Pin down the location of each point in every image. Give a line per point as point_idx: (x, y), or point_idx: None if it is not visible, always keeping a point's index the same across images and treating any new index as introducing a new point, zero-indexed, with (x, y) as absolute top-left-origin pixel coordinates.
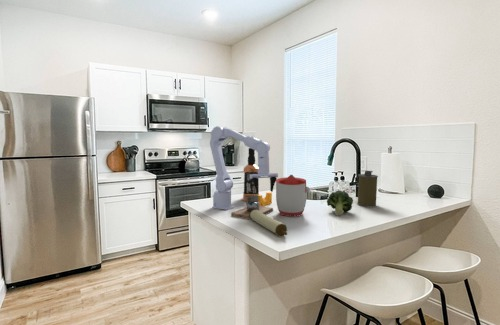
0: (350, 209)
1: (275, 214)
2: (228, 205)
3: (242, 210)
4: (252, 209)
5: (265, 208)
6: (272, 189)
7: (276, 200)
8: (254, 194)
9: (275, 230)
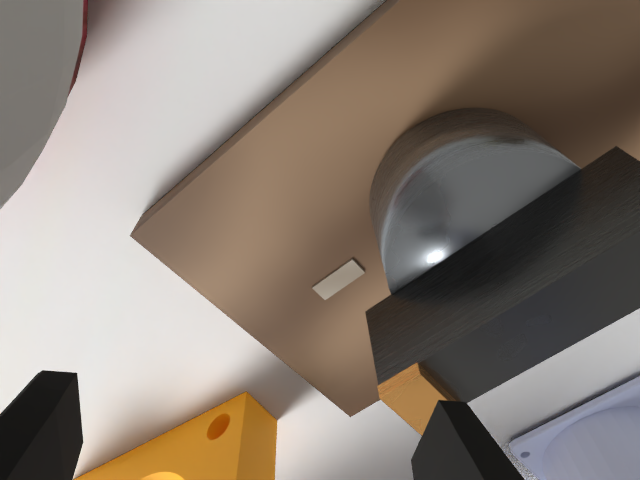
0: None
1: (159, 21)
2: (617, 432)
3: None
4: (527, 127)
5: (246, 239)
6: (19, 411)
7: (56, 52)
8: None
9: None
